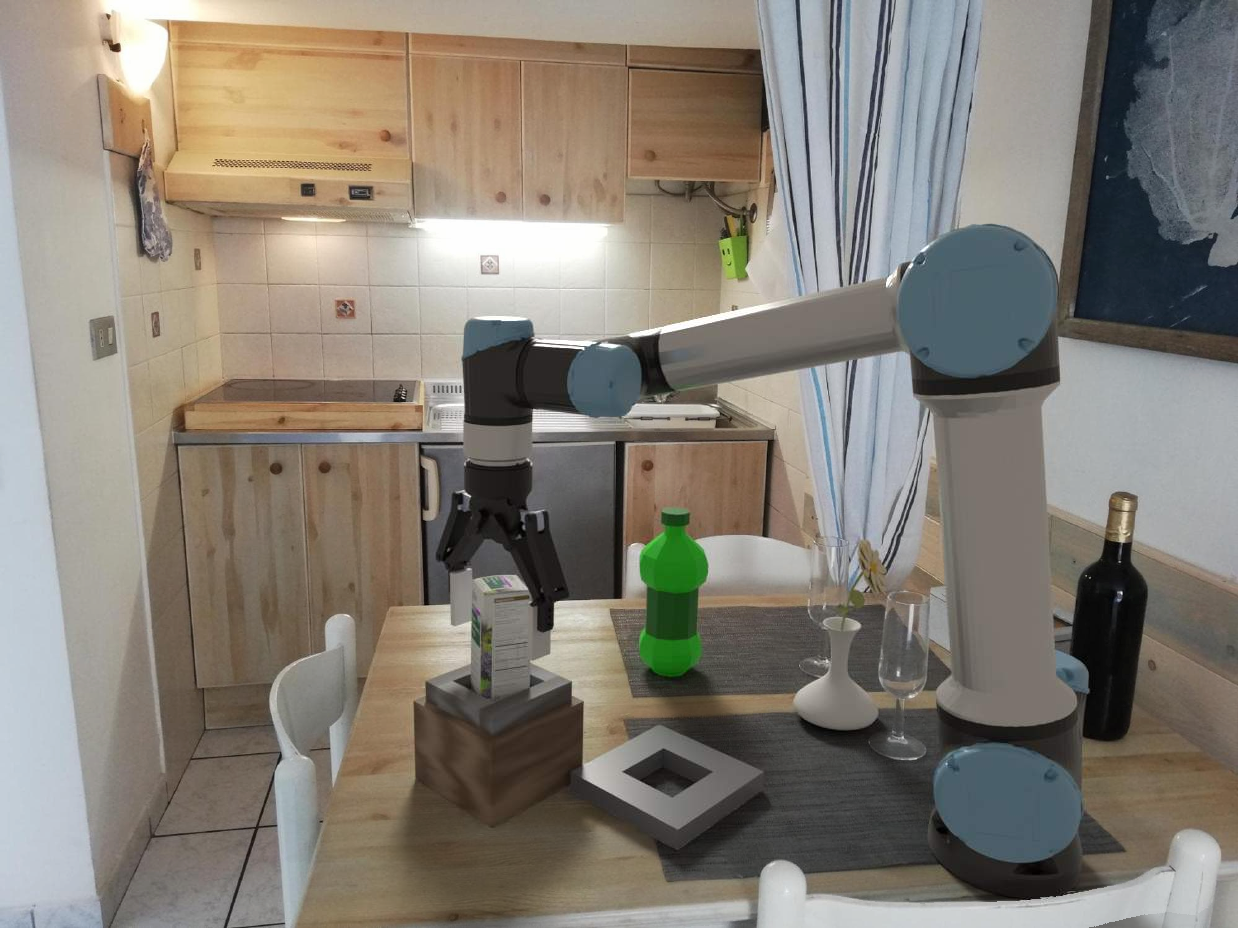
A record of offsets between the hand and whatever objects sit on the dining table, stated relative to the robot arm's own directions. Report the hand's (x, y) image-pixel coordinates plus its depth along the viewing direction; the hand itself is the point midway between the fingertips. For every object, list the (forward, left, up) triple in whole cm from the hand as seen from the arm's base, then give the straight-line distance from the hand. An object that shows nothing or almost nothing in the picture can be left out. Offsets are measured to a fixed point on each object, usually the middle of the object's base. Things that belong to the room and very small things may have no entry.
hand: (498, 639), depth 107 cm
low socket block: (-16, -12, -18) cm, 27 cm away
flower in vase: (-21, -43, -18) cm, 51 cm away
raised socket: (0, 0, -18) cm, 18 cm away
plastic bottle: (+5, -38, -18) cm, 42 cm away
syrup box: (0, 0, -8) cm, 8 cm away
